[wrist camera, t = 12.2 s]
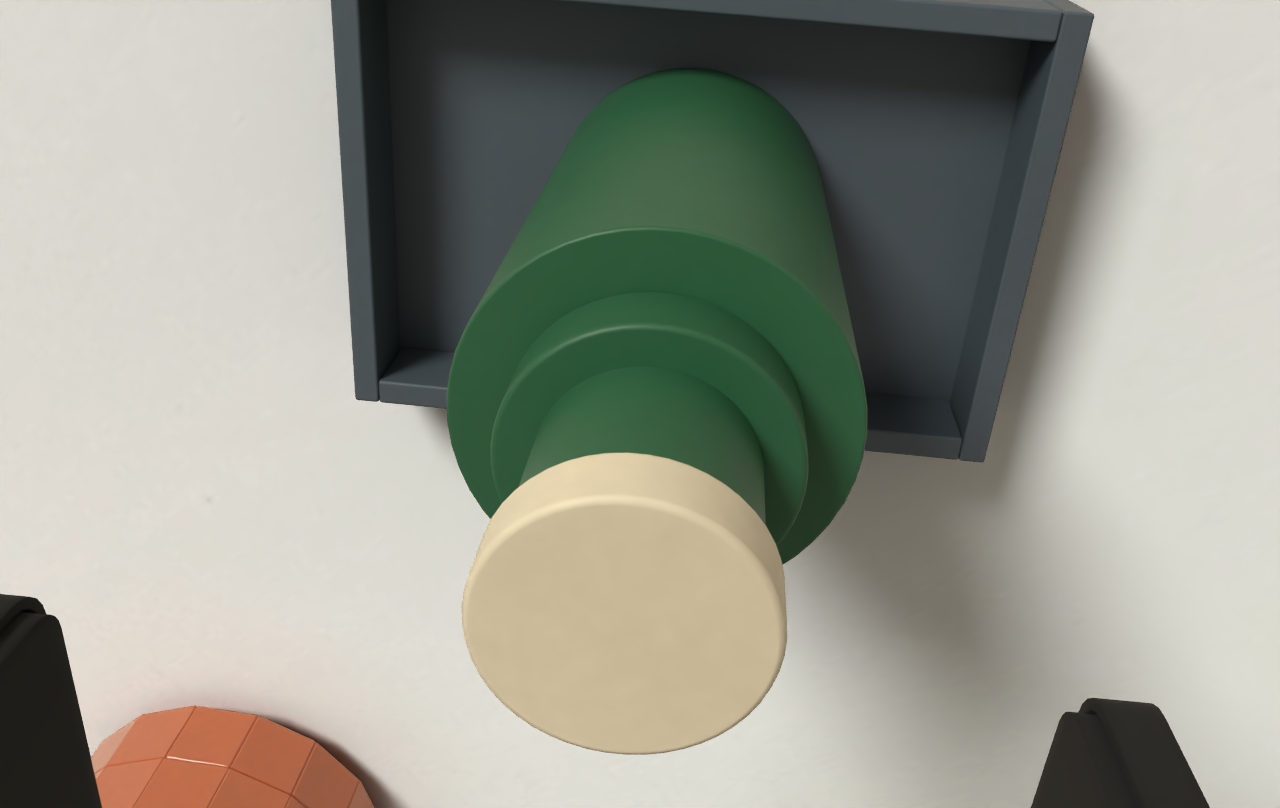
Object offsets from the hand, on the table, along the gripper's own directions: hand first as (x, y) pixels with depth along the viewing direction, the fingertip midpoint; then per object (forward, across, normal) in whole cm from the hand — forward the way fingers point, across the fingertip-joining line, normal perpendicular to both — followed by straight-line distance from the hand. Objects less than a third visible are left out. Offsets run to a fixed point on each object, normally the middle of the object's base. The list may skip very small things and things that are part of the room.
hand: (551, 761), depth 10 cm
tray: (+18, -1, 0) cm, 18 cm away
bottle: (+18, -1, 0) cm, 18 cm away
